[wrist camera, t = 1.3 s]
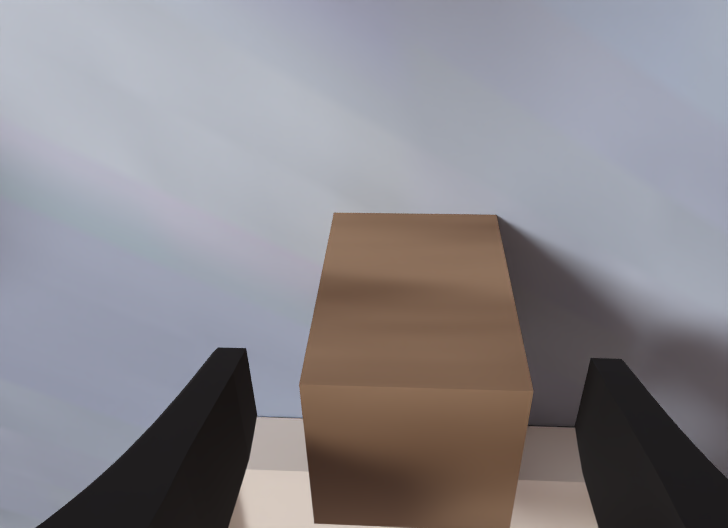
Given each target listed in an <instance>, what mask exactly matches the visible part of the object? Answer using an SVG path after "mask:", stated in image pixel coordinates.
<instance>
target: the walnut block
mask: <svg viewBox="0 0 728 528" xmlns="http://www.w3.org/2000/svg"><path fill="white" fill-rule="evenodd" d="M299 387H300V397H301V406H302V415H303V424H304V434H305V443H306V452H307V462H308V471H309V480H310V490H311V499H312V508H313V517H314V524H333V525H356V526H380V527H403V528H510V524H511V518H512V512H513V507H514V501H515V495H516V489H517V484H518V478H519V472H520V466H521V461H522V455H523V449H524V443H525V438H526V432H527V426H528V420H529V415H530V409H531V403H532V397H533V392H534V391H533V386H532V382H531V377H530V372H529V367H528V363H527V358H526V353H525V349H524V344H523V339H522V334H521V330H520V325H519V320H518V315H517V311H516V306H515V301H514V296H513V292H512V287H511V282H510V277H509V273H508V268H507V263H506V258H505V254H504V249H503V244H502V239H501V235H500V230H499V225H498V220H497V216H496V215H473V214H396V213H334V215H333V220H332V225H331V230H330V235H329V240H328V245H327V250H326V255H325V259H324V264H323V269H322V274H321V279H320V284H319V289H318V294H317V299H316V304H315V309H314V314H313V319H312V324H311V329H310V334H309V339H308V343H307V348H306V353H305V358H304V363H303V368H302V373H301V378H300V383H299Z"/></svg>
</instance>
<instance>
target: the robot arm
mask: <svg viewBox="0 0 728 528" xmlns="http://www.w3.org/2000/svg"><path fill="white" fill-rule="evenodd" d="M256 419H257V411H256V405H255V399H254V393H253V387H252V381H251V375H250V369H249V363H248V357H247V351H246V348H217V349H216V350H215V351H214V352H213V353H212V354H211V356H210V357H209V358H208V359H207V361H206V362H205V363H204V364H203V366H202V367H201V368H200V369H199V371H198V372H197V373H196V374H195V376H194V377H193V378H192V379H191V380H190V382H189V383H188V384H187V385H186V386H185V388H184V389H183V390H182V391H181V393H180V394H179V395H178V396H177V397H176V398H175V399H174V401H173V402H172V403H171V404H170V405H169V406H168V407H167V409H166V410H165V411H164V412H163V413H162V414H161V415H160V417H159V418H158V419H157V420H156V421H155V422H154V423H153V424H152V425H151V426H150V427H149V428H148V429H147V430H146V432H145V433H144V434H143V435H142V436H141V437H140V438H139V439H138V440H137V441H136V442H135V443H134V444H133V445H132V446H131V447H130V448H129V449H128V450H127V451H126V452H125V453H124V454H123V455H122V456H121V457H120V458H119V459H118V460H117V461H116V462H115V463H114V464H113V465H111V466H110V467H109V468H108V469H107V470H106V471H105V472H104V473H103V474H102V475H100V476H99V477H98V478H97V479H96V480H95V481H94V482H92V483H91V484H90V485H89V486H88V487H87V488H86V489H84V490H83V491H82V492H81V493H79V494H78V495H77V496H76V497H75V498H73V499H72V500H71V501H70V502H68V503H67V504H66V505H65V506H63V507H62V508H61V509H60V510H58V511H57V512H56V513H54V514H53V515H52V516H51V517H49V518H48V519H47V520H45V521H44V522H43V523H41V524H40V525H39V526H37V527H36V528H228V527H229V524H230V520H231V517H232V514H233V511H234V508H235V504H236V501H237V498H238V495H239V492H240V488H241V485H242V482H243V478H244V475H245V472H246V469H247V465H248V462H249V458H250V453H251V447H252V442H253V437H254V431H255V425H256ZM575 431H576V438H577V444H578V451H579V456H580V462H581V468H582V473H583V477H584V480H585V484H586V487H587V491H588V494H589V498H590V501H591V504H592V508H593V511H594V515H595V518H596V521H597V525H598V528H728V479H727V478H726V477H725V476H724V475H723V474H722V473H721V472H720V471H719V470H718V469H717V468H716V467H715V466H714V465H713V464H712V463H711V462H710V461H709V460H708V459H707V458H706V457H705V456H704V454H703V453H702V452H701V451H700V450H699V449H698V448H697V447H696V446H695V445H694V444H693V443H692V441H691V440H690V439H689V438H688V437H687V436H686V435H685V434H684V433H683V431H682V430H681V429H680V428H679V427H678V426H677V425H676V424H675V423H674V421H673V420H672V419H671V418H670V417H669V416H668V414H667V413H666V412H665V411H664V410H663V409H662V407H661V406H660V405H659V404H658V403H657V401H656V400H655V399H654V398H653V397H652V395H651V394H650V393H649V392H648V391H647V389H646V388H645V387H644V386H643V384H642V383H641V382H640V381H639V380H638V378H637V377H636V376H635V375H634V373H633V372H632V371H631V370H630V368H629V367H628V366H627V365H626V364H625V362H624V361H623V360H622V359H602V358H591V360H590V364H589V368H588V373H587V377H586V381H585V385H584V390H583V394H582V398H581V402H580V407H579V411H578V415H577V419H576V424H575Z"/></svg>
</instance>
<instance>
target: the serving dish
mask: <svg viewBox="0 0 728 528" xmlns="http://www.w3.org/2000/svg"><path fill="white" fill-rule="evenodd" d="M228 528H403V527H380V526H356V525H333V524H314V517H313V508H312V499H311V490H310V480H309V471H308V462H307V452H306V443H305V434H304V424H303V419H300V418H271V417H257V419H256V425H255V431H254V437H253V442H252V447H251V453H250V458H249V462H248V465H247V469H246V472H245V475H244V478H243V482H242V485H241V488H240V492H239V495H238V498H237V501H236V504H235V508H234V511H233V514H232V517H231V520H230V524H229V527H228ZM510 528H598V525H597V521H596V518H595V515H594V511H593V508H592V504H591V501H590V498H589V494H588V491H587V487H586V484H585V480H584V477H583V473H582V468H581V462H580V456H579V451H578V444H577V438H576V431H575V428H568V427H538V426H527V432H526V438H525V443H524V449H523V455H522V461H521V466H520V472H519V478H518V484H517V489H516V495H515V501H514V507H513V512H512V518H511V524H510Z"/></svg>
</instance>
